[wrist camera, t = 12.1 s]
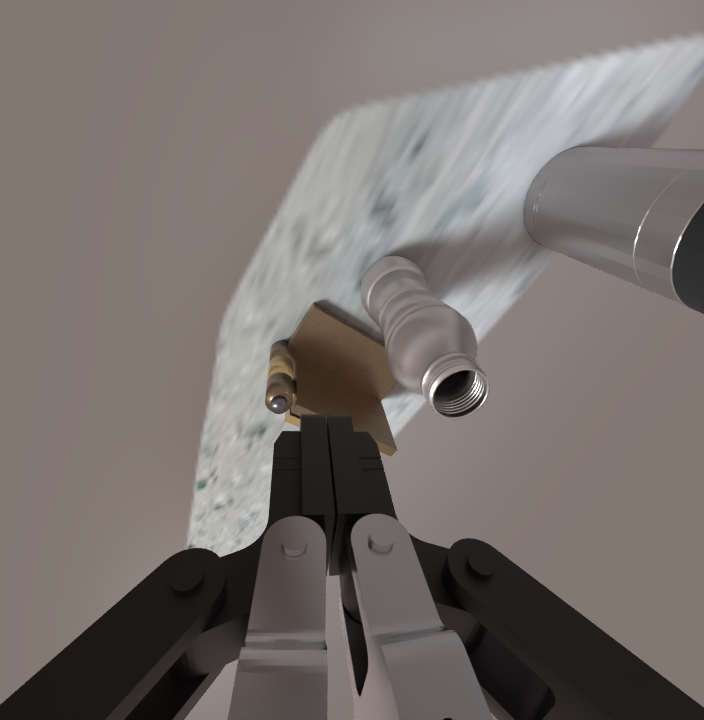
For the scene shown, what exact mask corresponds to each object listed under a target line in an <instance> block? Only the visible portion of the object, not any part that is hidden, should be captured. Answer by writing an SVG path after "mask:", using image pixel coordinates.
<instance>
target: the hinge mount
mask: <svg viewBox="0 0 704 720" xmlns="http://www.w3.org/2000/svg"><path fill="white" fill-rule="evenodd" d="M276 356H286V357H288V358H289V359H291V361H292V363H293V380H292V378H291V377H290V376H289V375H288V374H286V373H282V372H278V373H274V374H272V375H271V376H270V377H269V378H268V381H267V390H266V399H265V404H266V406H267V408H268V409H269V410H271V411H272V412H274V413H276V414H282V413H284V412H286V411H288V410H289V409H290V408H291V413H294V414H296V415H298V416H300V417H301V414H325V418H326V414H341V415H351V418H352V423H353V429H354V432H368V433H369V434H370V435H371V437H372V438H373V439H374V440H375V442H376V443H377V445H378V449H379V451H380V452H382V453H384V454H387V455H389V456H392V455H393V454H394V453H395V452H396V450H397V449H396V445H395V443H394V439H393V436H392V433H391V430H390V427H389V424H388V421H387V418H386V415H385V412H384V409H383V406H382V403H381V400H382V399H383V398H384V397H385V395H386V394H387V393H388V392H389V391H390V389H391V388H392V387H393V386H394V385H395V383H396V382H397V380H396V379H395V378H394V377H393V375H392V373H391V371H390V368H389V365H388V361H387V357H386V350H385V344H384V343H382V342H381V341H379V340H377V339H375V338H374V337H372V336H370V335H369V334H367V333H365V332H363V331H362V330H360V329H358V328H356V327H355V326H353V325H351V324H350V323H348V322H346V321H344V320H343V319H341V318H339V317H337V316H336V315H334V314H332V313H331V312H329V311H327V310H325V309H324V308H322V307H320V306H318V305H317V304H315V303H313V304H312V306H311V307H310V309H309V310H308V312H307V313H306V315H305V316H304V318H303V319H302V321H301V323H300V324H299V326H298V327H297V329H296V330H295V332H294V333H293V335H292V336H291V338H290V339H289V341H288V342H286V341H277V342H275V343H274V344H273V345H272V347H271V353H270V361H271V360H272V359H273V358H274V357H276ZM269 363H270V362H269Z"/></svg>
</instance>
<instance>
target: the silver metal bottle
mask: <svg viewBox="0 0 704 720" xmlns="http://www.w3.org/2000/svg"><path fill="white" fill-rule="evenodd" d="M361 301H362V304H363V307H364V309H365V310H366V312H367V313H368V315H369V316H370V317H371V318H372V319H373V320H374V321H375V322H376V323H377V325H378V326H379V328H380V329H381V332H382V335H383V338H384V343H385V350H386V357H387V361H388V365H389V368H390V371H391V373H392V375H393V377H394V378H395V379H396V380H397V381H398V382H399V383H400V384H401V385H402V386H403V387H404V388H406V389H407V390H409V391H410V392H413V393H416V394H420V395H424V397H425V399H426V400H427V401H428V402H429V403H430V405H431V407H432V409H433V410H434V411H435V412H436V413H437V414H438V415H439V416H441V417H442V418H445V419H450V420H456V419H461V418H465V417H468V416H469V415H471V414H473V413H474V412H476V411H477V410H478V409H479V408H480V407H481V406H482V405H483V404H484V403H485V401H486V399H487V397H488V394H489V389H490V388H489V387H490V386H489V381H488V379H487V376H486V375H485V373H484V372H483V371H482V370H481V368H480V365H479V364H478V363H477V361H476V357H477V341H476V337H475V333H474V330H473V328H472V326H471V324H470V323H469V321H468V320H467V319H466V318H465V317H463V316H462V315H461V314H460V313H459V312H457V311H456V310H455V309H453V308H451V307H450V306H448V305H447V304H445V303H443V302H442V301H440V300H439V299H438V298H437V297H436V296H435V295H434V294H433V293H432V292H431V290H430V288H429V287H428V284H427V281H426V279H425V276H424V274H423V272H422V270H421V269H420V268H419V266H417V265H416V264H415V263H414V262H412V261H410V260H408V259H406V258H403V257H399V256H388V257H384V258H382V259H379V260H378V261H376V262H375V263H373V264H372V265H371V266H370V267H369V269H368V270H367V271H366V273H365V275H364V277H363V280H362V283H361Z"/></svg>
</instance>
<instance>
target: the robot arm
mask: <svg viewBox="0 0 704 720" xmlns="http://www.w3.org/2000/svg"><path fill="white" fill-rule="evenodd" d="M524 217H525V224H526V227H527V230H528V232H529V233H530V235H531V236H532V238H533V239H534V240H535V241H537V242H538V243H539V244H541V245H544V246H546V247H548V248H551V249H553V250H555V251H557V252H560V253H562V254H564V255H566V256H568V257H571V258H573V259H576V260H578V261H580V262H583V263H585V264H587V265H590V266H592V267H594V268H597V269H599V270H602V271H604V272H606V273H608V274H611V275H613V276H615V277H618V278H620V279H623V280H625V281H627V282H629V283H632V284H634V285H637V286H639V287H641V288H644V289H646V290H648V291H651V292H654V293H656V294H658V295H661V296H663V297H665V298H668V299H670V300H672V301H675V302H677V303H679V304H682V305H684V306H687V307H689V308H692V309H694V310H696V311H699V312H701V313H703V314H704V150H692V149H655V148H619V147H576V148H572V149H568V150H566V151H564V152H562V153H560V154H558V155H557V156H555V157H554V158H553V159H551V160H550V161H549V162H548V163H547V164H546V165H545V166H544V167H543V168H542V169H541V170H540V171H539V173H538V174H537V176H536V177H535V179H534V180H533V182H532V184H531V186H530V189H529V191H528V194H527V197H526V201H525V208H524ZM328 566H329V575H330V576H333V575H339V577H340V587H341V594H340V600H339V612H340V618H341V624H342V631H343V637H344V643H345V650H346V656H347V662H348V668H349V675H350V681H351V687H352V694H353V701H354V720H493V718H492V716H491V713H492V714H493V715H494V716H495V717H496V718H497V719H498V720H704V707H702V706H701V705H700V704H698V703H697V702H696V701H694V700H693V699H692V698H690V697H689V696H688V695H687V694H685V693H684V692H683V691H681V690H680V689H679V688H677V687H676V686H675V685H673V684H672V683H671V682H669V681H668V680H667V679H666V678H664V677H663V676H661V675H660V674H659V673H658V672H656V671H655V670H654V669H652V668H651V667H650V666H648V665H647V664H646V663H645V662H643V661H642V660H640V659H639V658H638V657H637V656H635V655H634V654H633V653H631V652H630V651H629V650H627V649H626V648H625V647H624V646H622V645H621V644H619V643H618V642H617V641H615V640H614V639H613V638H612V637H610V636H609V635H608V634H606V633H605V632H603V630H601V629H600V628H599V627H597V626H596V625H595V624H593V623H592V622H591V621H589V620H588V619H587V618H585V617H584V616H583V615H582V614H580V613H579V612H578V611H576V610H575V609H574V608H572V607H571V606H570V605H568V604H567V603H565V602H564V601H563V600H562V599H560V598H559V597H558V596H556V595H555V594H554V593H553V592H551V591H550V590H549V589H547V588H546V587H545V586H543V585H542V584H541V583H539V582H538V581H537V580H536V579H534V578H533V577H532V576H530V575H529V574H528V573H526V572H525V571H524V570H522V569H521V568H520V567H519V566H517V565H516V564H514V563H513V562H512V561H510V560H509V559H508V558H507V557H505V556H504V555H503V554H501V553H500V552H499V551H498V550H496V549H495V548H493V547H492V546H491V545H489V544H487V543H485V542H483V541H480V540H477V539H470V538H467V539H461V540H459V541H457V542H455V543H454V544H453V545H452V546H451V548H450V549H448V548H444V547H440V546H437V545H433V544H430V543H426V542H424V541H421V540H419V539H417V538H415V537H413V536H412V535H411V534H409V533H408V531H407V530H406V528H405V527H404V526H403V525H402V524H401V523H400V522H399V521H398V519H397V517H396V514H395V510H394V506H393V502H392V499H391V495H390V491H389V487H388V483H387V479H386V476H385V472H384V468H383V464H382V460H381V456H380V452H379V449H378V445H377V443H376V442H375V440H374V439H373V438H372V437H371V435H370V434H369V433H368V432H354V429H353V423H352V418H351V415H341V414H326V418H325V414H301V417H300V431H282V433H281V434H280V436H279V437H278V439H277V440H276V442H275V443H274V454H273V467H272V480H271V493H270V506H269V518H268V523H267V526H266V528H265V530H264V532H263V533H262V535H261V536H260V537H259V538H258V539H257V540H256V541H255V542H254V543H252V544H251V545H250V546H248V547H246V548H244V549H242V550H240V551H237V552H234V553H231V554H228V555H225V556H223V557H219V556H218V555H217V554H216V553H214V552H212V551H210V550H207V549H203V548H192V549H187V550H184V551H181V552H179V553H176V554H174V555H173V556H171V557H170V558H169V559H167V560H166V561H164V562H163V563H162V564H161V565H160V566H159V567H157V569H155V570H154V571H153V572H152V573H151V574H150V575H148V576H147V577H146V578H145V579H144V580H143V581H142V582H140V583H139V584H138V585H137V586H136V587H135V588H133V589H132V590H131V591H130V592H129V593H128V594H127V595H125V597H123V598H122V599H121V600H120V601H119V602H117V603H116V604H115V605H114V606H113V607H112V608H111V609H109V610H108V611H107V612H106V613H105V614H104V615H103V616H102V617H100V618H99V619H98V620H97V621H96V622H95V623H93V624H92V625H91V626H90V627H89V628H88V629H87V630H85V631H84V632H83V633H82V634H81V635H80V636H78V637H77V638H76V639H75V640H74V641H73V642H72V643H70V644H69V645H68V646H67V647H66V648H65V649H64V650H63V651H61V652H60V653H59V654H58V655H57V656H56V657H54V658H53V659H52V660H51V661H50V662H49V663H48V664H46V665H45V666H44V667H43V668H42V669H41V670H40V671H38V672H37V673H36V674H35V675H34V676H33V677H32V678H30V679H29V680H28V681H27V682H26V683H25V684H24V685H22V686H21V687H20V688H19V689H18V690H17V691H15V692H14V693H13V694H12V695H11V696H10V697H9V698H7V699H6V700H5V701H4V702H3V703H2V704H1V705H0V720H184V719H185V718H186V716H187V715H188V714H189V712H190V711H191V710H192V709H193V707H194V706H195V705H196V703H197V702H198V701H199V699H200V698H201V697H202V696H203V694H204V693H205V692H206V690H207V689H208V688H209V687H210V685H211V684H212V683H213V681H214V680H215V679H216V677H217V676H218V675H219V674H220V672H221V671H222V670H223V668H224V667H225V665H226V664H228V663H230V662H232V661H234V660H237V659H239V660H238V665H237V670H236V676H235V681H234V687H233V693H232V698H231V704H230V709H229V715H228V720H327V692H328V690H327V689H328V682H327V681H328V680H327V679H328V658H327V645H326V642H325V616H326V576H327V569H328ZM490 712H491V713H490Z"/></svg>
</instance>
